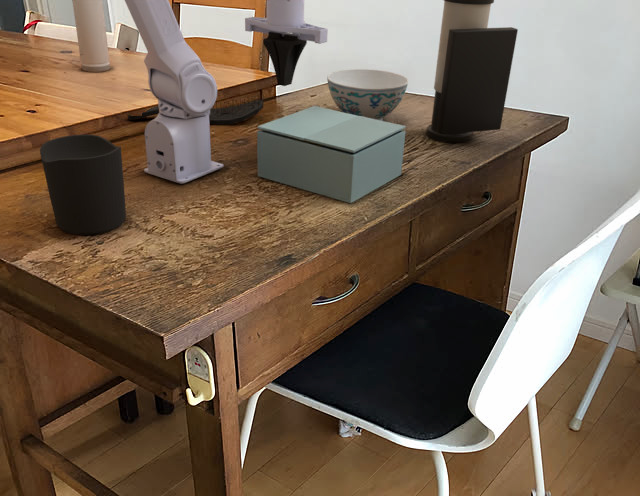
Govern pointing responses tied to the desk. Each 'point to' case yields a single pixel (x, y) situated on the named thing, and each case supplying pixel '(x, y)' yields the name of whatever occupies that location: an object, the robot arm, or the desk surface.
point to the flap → (306, 122)
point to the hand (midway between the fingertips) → (284, 84)
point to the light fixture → (470, 72)
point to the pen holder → (85, 183)
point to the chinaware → (367, 91)
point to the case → (335, 158)
